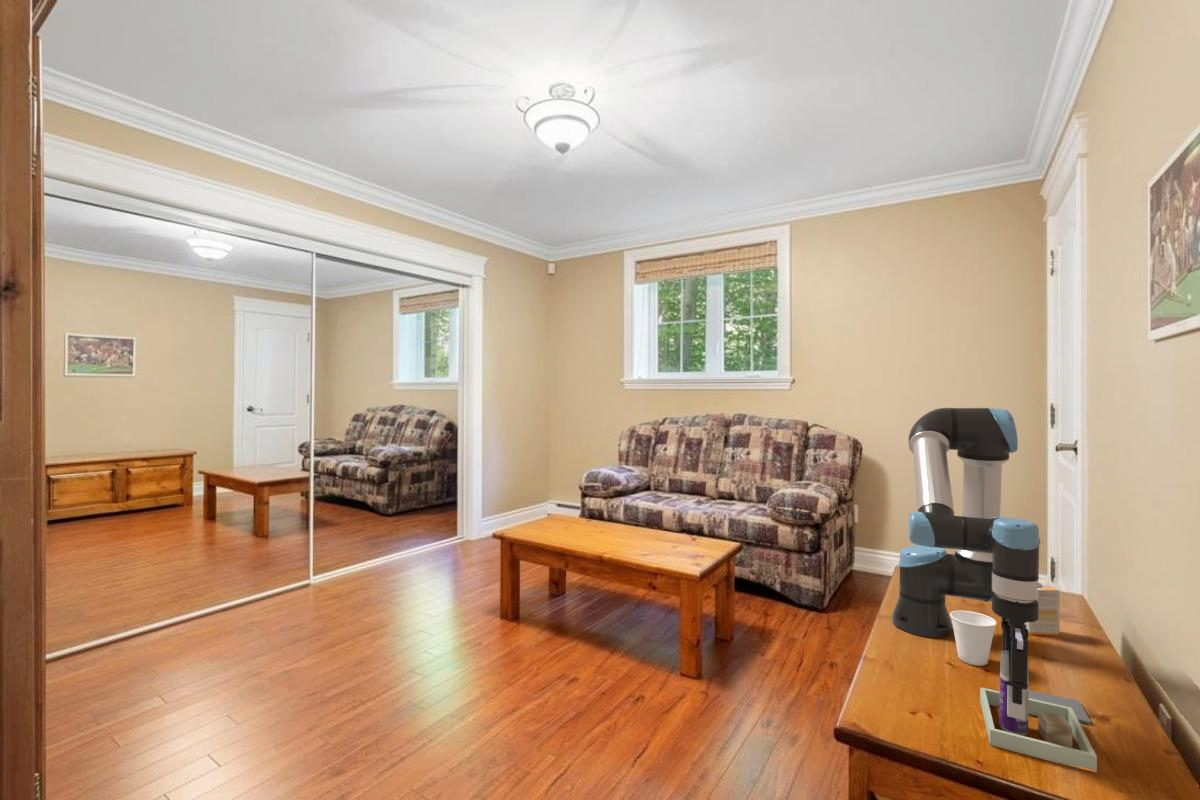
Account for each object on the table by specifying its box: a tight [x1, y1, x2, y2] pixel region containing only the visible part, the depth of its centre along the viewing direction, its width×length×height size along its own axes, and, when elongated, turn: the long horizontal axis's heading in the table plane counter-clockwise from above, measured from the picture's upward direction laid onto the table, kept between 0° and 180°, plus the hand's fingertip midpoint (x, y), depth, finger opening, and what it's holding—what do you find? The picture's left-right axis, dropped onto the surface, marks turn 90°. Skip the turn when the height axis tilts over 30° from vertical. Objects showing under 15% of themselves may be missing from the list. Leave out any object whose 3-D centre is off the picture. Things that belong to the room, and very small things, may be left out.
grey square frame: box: [979, 687, 1098, 772], centre depth 108 cm, size 16×18×3 cm
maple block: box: [1037, 712, 1073, 748], centre depth 107 cm, size 4×4×4 cm
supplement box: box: [1024, 584, 1060, 637], centre depth 155 cm, size 8×5×13 cm, turn 84°
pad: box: [1029, 689, 1092, 726], centre depth 117 cm, size 9×9×1 cm
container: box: [998, 650, 1030, 737], centre depth 110 cm, size 5×5×15 cm
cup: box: [949, 609, 998, 667], centre depth 138 cm, size 10×10×11 cm
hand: (1013, 710), depth 110 cm, fingers closed on container, 5 cm apart
